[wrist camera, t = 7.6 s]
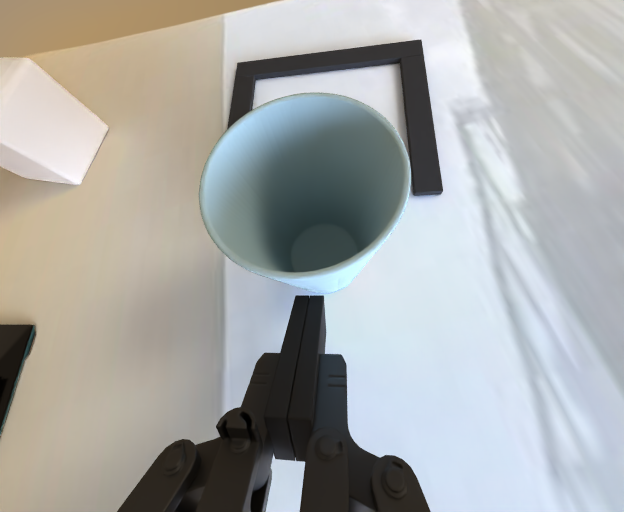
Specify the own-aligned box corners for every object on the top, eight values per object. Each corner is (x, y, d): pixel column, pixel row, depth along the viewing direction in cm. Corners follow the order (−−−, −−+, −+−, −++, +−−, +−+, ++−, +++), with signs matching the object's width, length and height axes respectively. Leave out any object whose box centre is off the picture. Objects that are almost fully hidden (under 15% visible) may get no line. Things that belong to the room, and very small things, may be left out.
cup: (286, 322, 18) (210, 308, 8) (265, 227, 20) (188, 125, 10) (390, 293, 17) (448, 240, 7) (356, 200, 20) (367, 68, 10)
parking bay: (441, 194, 19) (443, 190, 18) (218, 204, 21) (215, 201, 21) (419, 45, 24) (421, 39, 23) (239, 67, 26) (237, 62, 26)
